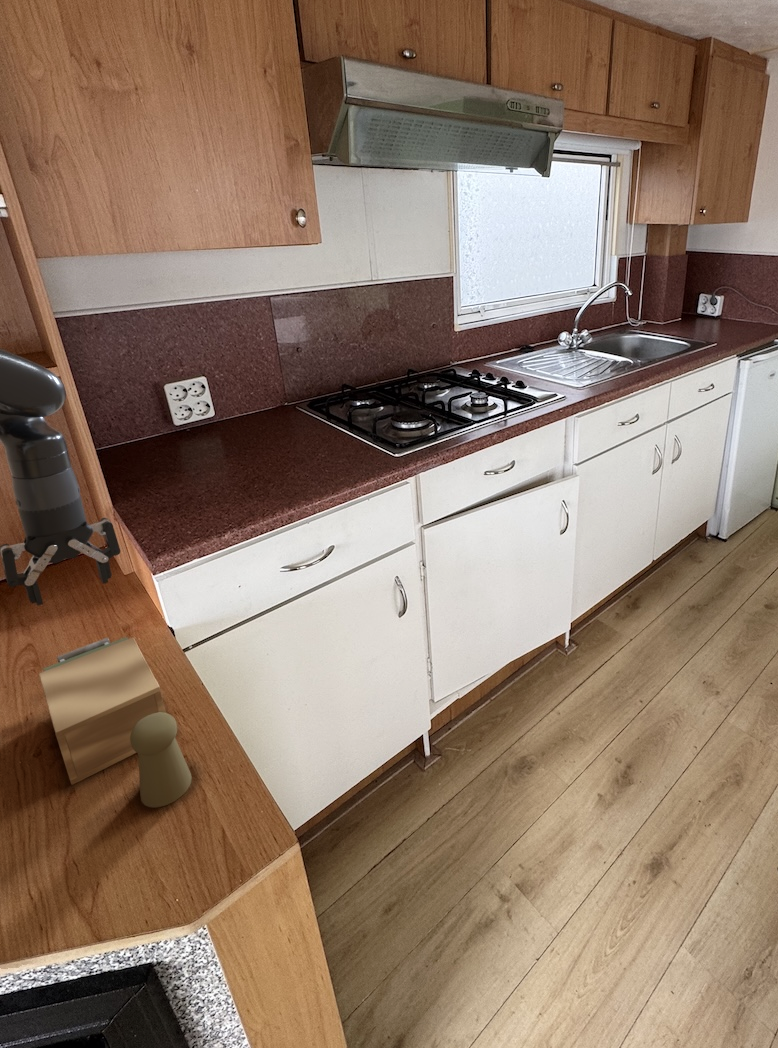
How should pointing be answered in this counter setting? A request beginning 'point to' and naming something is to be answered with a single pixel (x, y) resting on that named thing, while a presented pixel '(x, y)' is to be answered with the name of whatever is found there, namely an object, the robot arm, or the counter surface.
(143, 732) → the cork
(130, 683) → the cabinet
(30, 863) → the counter surface
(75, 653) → the drawer
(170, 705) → the counter surface
